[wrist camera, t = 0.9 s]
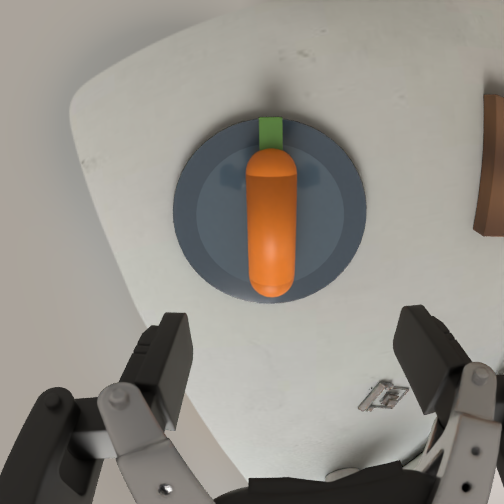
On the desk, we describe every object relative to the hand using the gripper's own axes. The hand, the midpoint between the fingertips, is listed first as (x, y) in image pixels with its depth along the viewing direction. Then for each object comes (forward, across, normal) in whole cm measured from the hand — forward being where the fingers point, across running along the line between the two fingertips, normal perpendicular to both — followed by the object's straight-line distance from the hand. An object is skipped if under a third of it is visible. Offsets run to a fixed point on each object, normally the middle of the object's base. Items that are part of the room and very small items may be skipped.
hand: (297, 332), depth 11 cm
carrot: (+14, 0, -1) cm, 15 cm away
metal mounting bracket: (+16, -12, +26) cm, 33 cm away
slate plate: (+15, 0, 0) cm, 15 cm away
